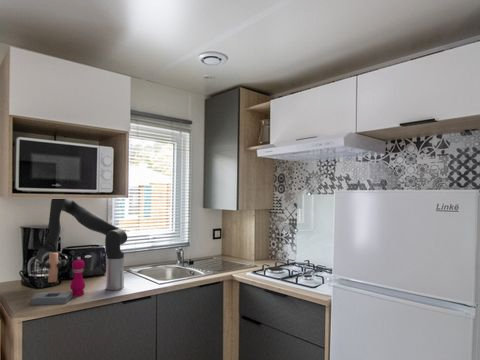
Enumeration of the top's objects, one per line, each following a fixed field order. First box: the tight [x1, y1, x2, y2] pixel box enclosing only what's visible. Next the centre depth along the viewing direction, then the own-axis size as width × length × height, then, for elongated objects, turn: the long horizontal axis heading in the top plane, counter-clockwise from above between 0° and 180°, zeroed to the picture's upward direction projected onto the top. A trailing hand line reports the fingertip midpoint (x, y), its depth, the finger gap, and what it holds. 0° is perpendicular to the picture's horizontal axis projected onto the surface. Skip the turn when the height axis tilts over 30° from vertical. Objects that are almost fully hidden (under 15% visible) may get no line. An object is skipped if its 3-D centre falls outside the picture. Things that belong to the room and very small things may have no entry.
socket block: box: [30, 291, 74, 306], centre depth 170 cm, size 16×10×3 cm, turn 100°
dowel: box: [47, 252, 59, 283], centre depth 171 cm, size 4×4×14 cm
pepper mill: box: [69, 256, 86, 297], centre depth 182 cm, size 7×7×20 cm
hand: (54, 266), depth 168 cm, fingers closed on dowel, 4 cm apart
